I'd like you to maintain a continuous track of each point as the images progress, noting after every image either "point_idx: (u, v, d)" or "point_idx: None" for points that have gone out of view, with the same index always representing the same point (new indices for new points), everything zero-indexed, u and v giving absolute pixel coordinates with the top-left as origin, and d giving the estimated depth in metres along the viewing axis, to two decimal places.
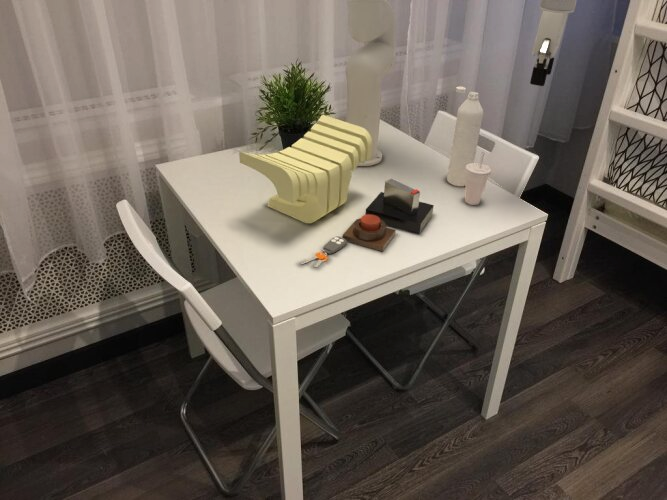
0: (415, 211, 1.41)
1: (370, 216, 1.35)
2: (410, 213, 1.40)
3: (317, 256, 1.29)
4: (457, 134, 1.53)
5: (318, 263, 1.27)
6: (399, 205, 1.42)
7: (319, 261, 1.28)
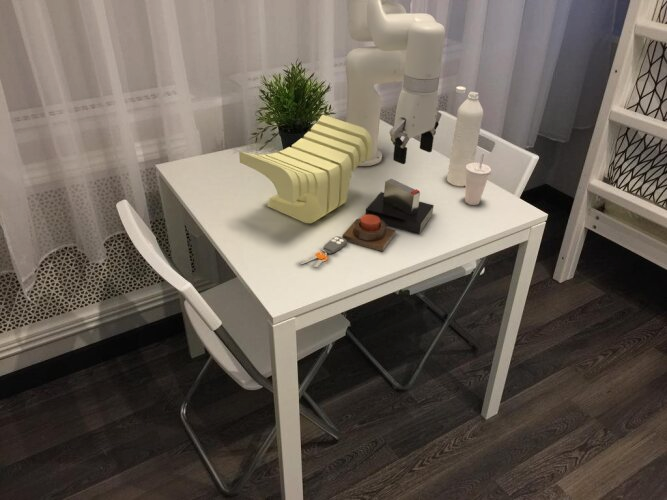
0: (415, 211, 1.41)
1: (370, 216, 1.35)
2: (410, 213, 1.40)
3: (317, 256, 1.29)
4: (457, 134, 1.53)
5: (318, 263, 1.27)
6: (399, 205, 1.42)
7: (319, 261, 1.28)
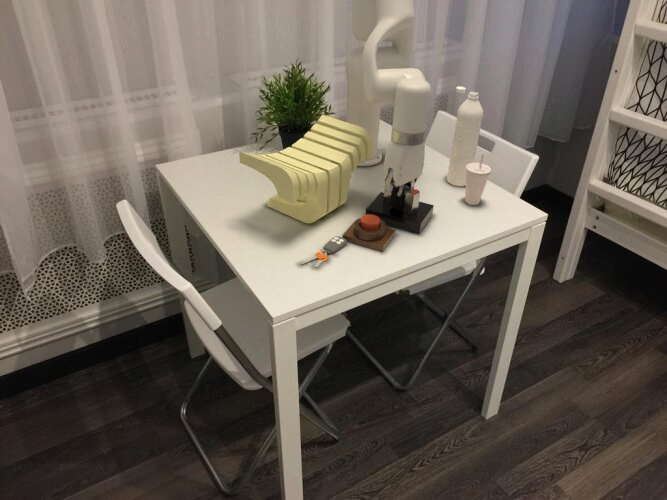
0: (415, 211, 1.41)
1: (370, 216, 1.35)
2: (410, 213, 1.40)
3: (317, 256, 1.29)
4: (457, 134, 1.53)
5: (318, 263, 1.27)
6: None
7: (319, 261, 1.28)
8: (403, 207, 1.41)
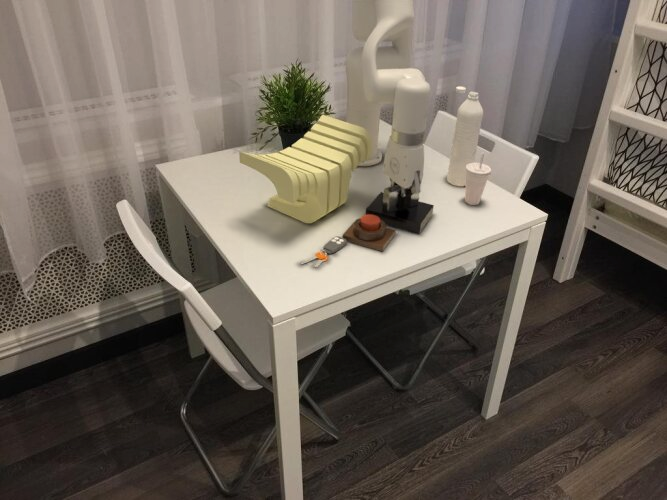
0: None
1: (370, 216, 1.35)
2: (417, 203, 1.44)
3: (317, 256, 1.29)
4: (457, 134, 1.53)
5: (318, 263, 1.27)
6: None
7: (319, 261, 1.28)
8: None
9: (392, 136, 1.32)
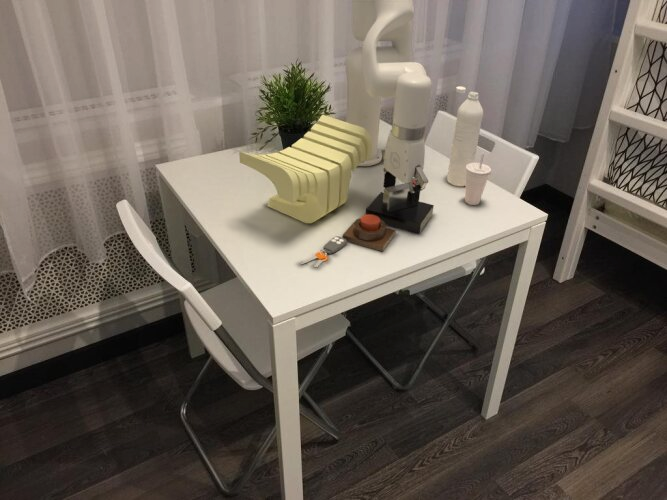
0: None
1: (370, 216, 1.35)
2: None
3: (317, 256, 1.29)
4: (457, 134, 1.53)
5: (318, 263, 1.27)
6: (405, 204, 1.42)
7: (319, 261, 1.28)
8: None
9: (393, 131, 1.31)
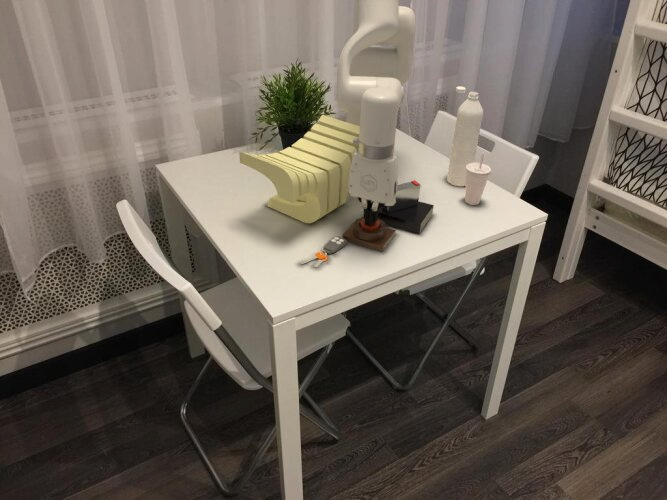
0: None
1: None
2: (417, 203, 1.44)
3: (317, 256, 1.29)
4: (457, 134, 1.53)
5: (318, 263, 1.27)
6: (405, 204, 1.42)
7: (319, 261, 1.28)
8: (409, 203, 1.43)
9: (365, 153, 1.22)
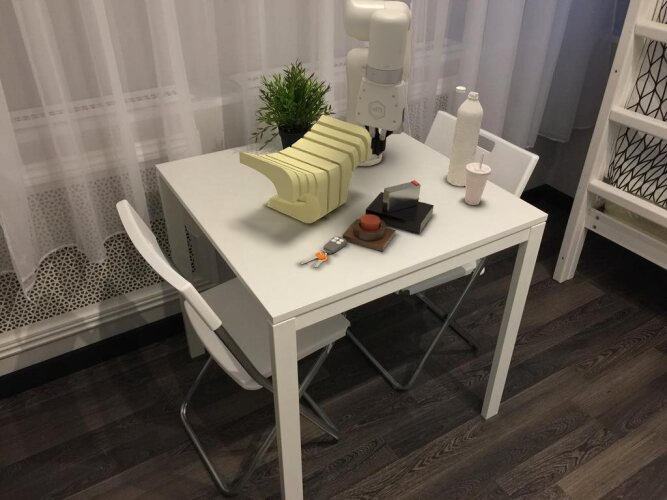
0: None
1: (370, 216, 1.35)
2: (417, 203, 1.44)
3: (317, 256, 1.29)
4: (457, 134, 1.53)
5: (318, 263, 1.27)
6: (405, 204, 1.42)
7: (319, 261, 1.28)
8: (409, 203, 1.43)
9: (374, 77, 1.21)
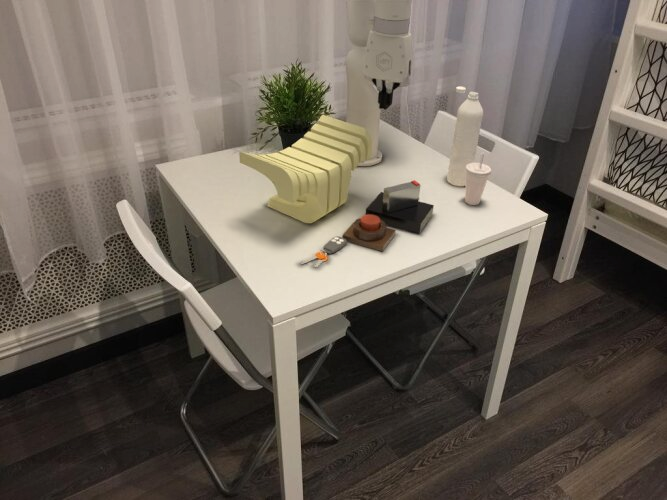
0: None
1: (370, 216, 1.35)
2: (417, 203, 1.44)
3: (317, 256, 1.29)
4: (457, 134, 1.53)
5: (318, 263, 1.27)
6: (405, 204, 1.42)
7: (319, 261, 1.28)
8: (409, 203, 1.43)
9: (381, 28, 1.25)
